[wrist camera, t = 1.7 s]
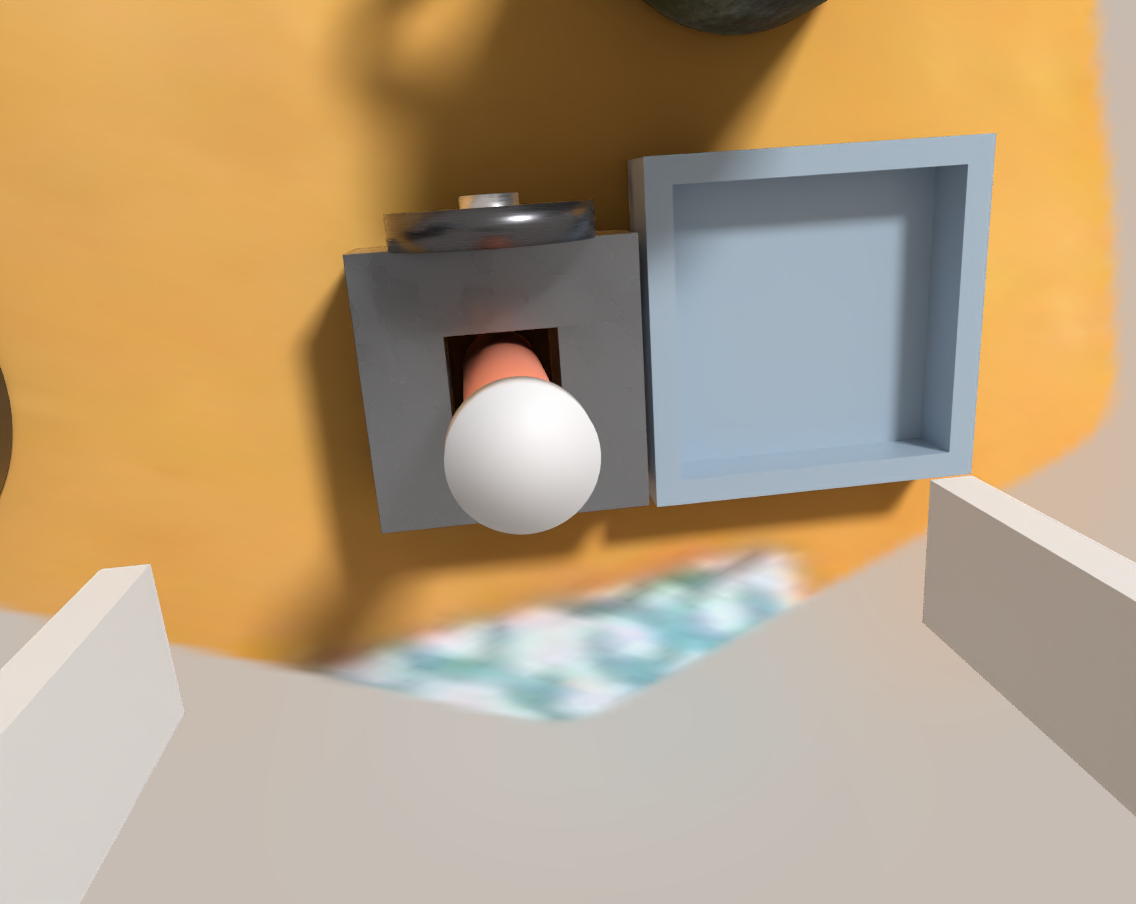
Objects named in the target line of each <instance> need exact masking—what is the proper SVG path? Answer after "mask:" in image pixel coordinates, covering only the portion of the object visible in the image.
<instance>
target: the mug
mask: <svg viewBox="0 0 1136 904" xmlns="http://www.w3.org/2000/svg"><path fill="white" fill-rule="evenodd" d="M644 1H645V2H647V3H648V4H649V5H650V6H652V7H653V8H654V9H656V10H657V11H658V12H659V13H661V14H663V15H665V16H666V17H668V18H670V19H672V20H674V21H676V22H678V23H679V24H682V25H685V26H687V27H690V28H693V29H696V30H699V31H703V32H709V33H715V34H722V35H739V34H750V33H755V32H760V31H766V30H769V29H771V28H774V27H777V26H779V25H782V24H785V23H787V22H789V21H791V20H793V19H795V18H796V17H798V16H800V15H802V14H804V13H805V12H807V11H809V10H811V9H813V8H814V7H816V6H818V5H820V4H822V3H823V2H825V1H827V0H644Z"/></svg>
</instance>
